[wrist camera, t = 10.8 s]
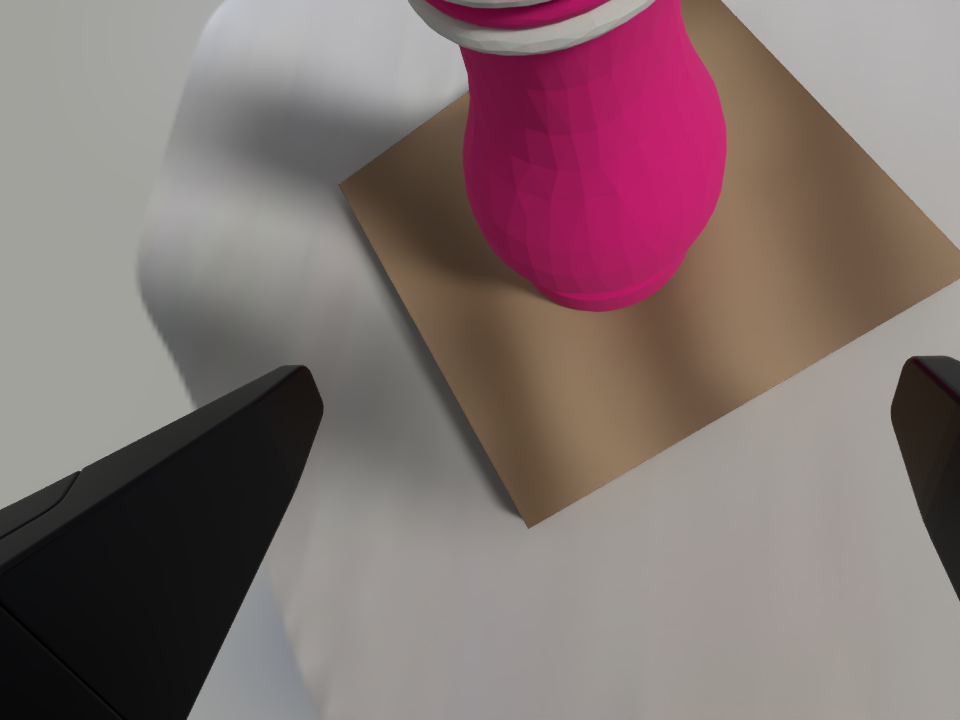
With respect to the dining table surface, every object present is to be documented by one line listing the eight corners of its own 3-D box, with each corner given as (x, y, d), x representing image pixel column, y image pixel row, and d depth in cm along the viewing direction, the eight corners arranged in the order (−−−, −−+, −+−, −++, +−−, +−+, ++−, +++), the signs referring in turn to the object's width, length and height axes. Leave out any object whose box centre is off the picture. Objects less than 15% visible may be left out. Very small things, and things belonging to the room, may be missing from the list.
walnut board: (534, 525, 20) (528, 529, 19) (352, 197, 25) (338, 185, 24) (955, 280, 18) (976, 268, 17) (667, -28, 23) (669, -54, 21)
